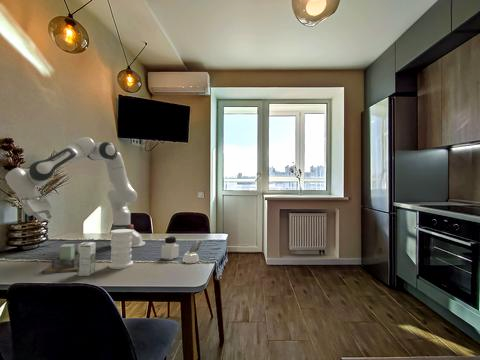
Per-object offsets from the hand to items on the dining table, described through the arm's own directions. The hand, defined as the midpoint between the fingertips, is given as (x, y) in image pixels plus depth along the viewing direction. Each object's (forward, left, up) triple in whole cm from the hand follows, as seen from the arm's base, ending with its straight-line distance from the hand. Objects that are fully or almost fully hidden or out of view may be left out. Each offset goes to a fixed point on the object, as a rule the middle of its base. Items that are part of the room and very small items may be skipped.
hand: (46, 219), depth 150 cm
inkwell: (-76, 0, -24) cm, 79 cm away
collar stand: (-12, +6, -23) cm, 27 cm away
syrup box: (-25, +19, -23) cm, 40 cm away
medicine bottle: (-62, -5, -24) cm, 67 cm away
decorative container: (-38, +7, -23) cm, 45 cm away
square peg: (-12, +6, -22) cm, 26 cm away
